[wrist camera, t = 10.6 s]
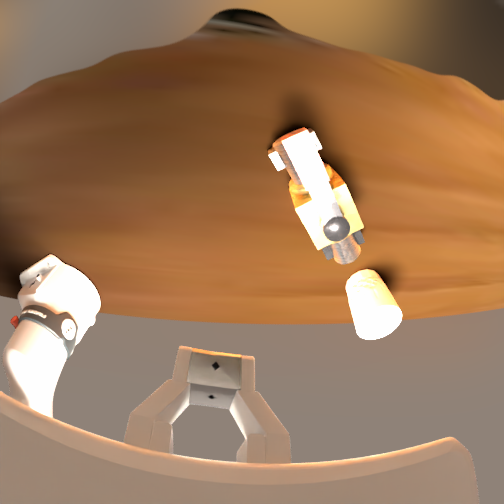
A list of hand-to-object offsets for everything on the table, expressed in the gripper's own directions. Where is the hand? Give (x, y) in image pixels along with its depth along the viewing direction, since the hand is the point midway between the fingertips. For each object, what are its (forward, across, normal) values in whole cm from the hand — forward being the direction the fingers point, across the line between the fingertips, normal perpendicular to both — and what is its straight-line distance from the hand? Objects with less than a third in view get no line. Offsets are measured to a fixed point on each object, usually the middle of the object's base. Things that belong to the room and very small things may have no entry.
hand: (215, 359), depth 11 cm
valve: (+31, -12, +4) cm, 34 cm away
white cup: (+31, -26, +18) cm, 44 cm away
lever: (+23, -9, 0) cm, 25 cm away
